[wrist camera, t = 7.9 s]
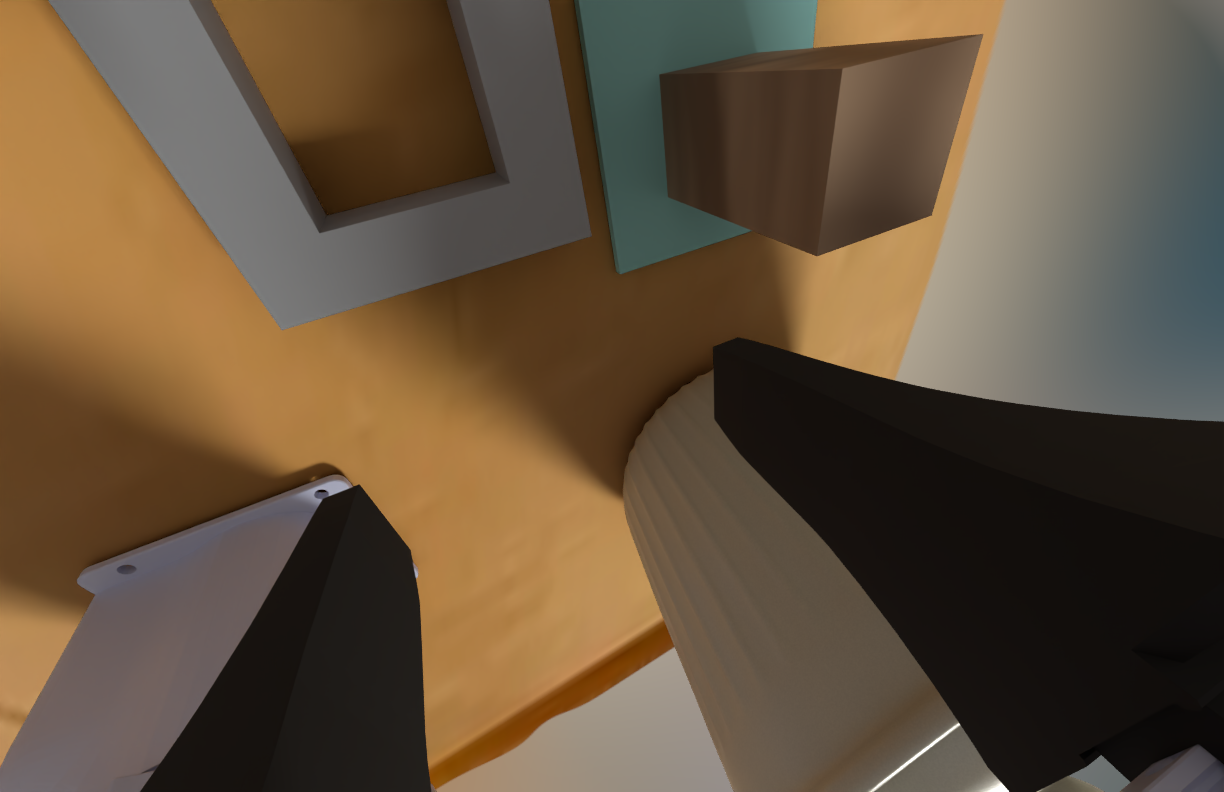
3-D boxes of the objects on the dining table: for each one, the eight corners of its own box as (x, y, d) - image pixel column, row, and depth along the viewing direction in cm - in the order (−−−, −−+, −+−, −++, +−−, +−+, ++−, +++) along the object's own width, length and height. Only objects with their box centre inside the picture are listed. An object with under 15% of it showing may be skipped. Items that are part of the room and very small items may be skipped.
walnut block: (668, 197, 18) (817, 256, 12) (659, 74, 15) (842, 68, 9) (752, 172, 19) (931, 215, 13) (757, 52, 16) (983, 34, 10)
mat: (616, 271, 19) (620, 274, 19) (572, -12, 13) (576, -14, 13) (789, 214, 21) (795, 216, 21) (814, -53, 15) (823, -56, 15)
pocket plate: (293, 302, 15) (281, 330, 13) (-14, -161, 9) (-107, -218, 7) (570, 221, 17) (591, 236, 15) (485, -194, 11) (504, -244, 9)
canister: (601, 581, 31) (829, 1090, 16) (531, 378, 20) (1097, 1473, 4) (809, 477, 35) (1161, 799, 19) (848, 258, 24) (1759, 599, 8)
